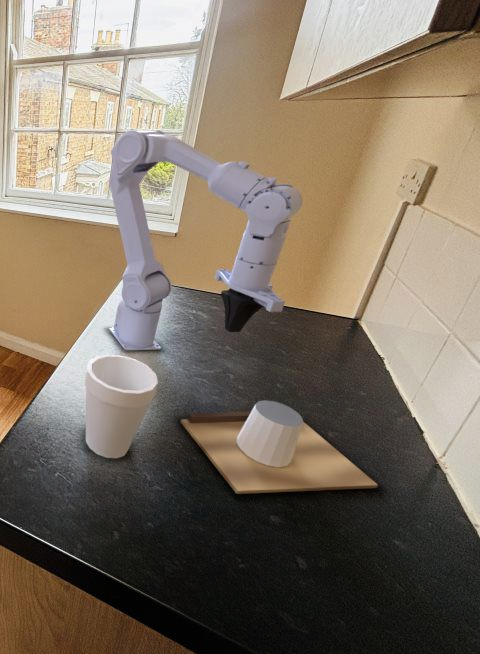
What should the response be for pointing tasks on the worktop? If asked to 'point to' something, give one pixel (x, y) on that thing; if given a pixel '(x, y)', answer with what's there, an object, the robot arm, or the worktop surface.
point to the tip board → (254, 477)
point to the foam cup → (116, 402)
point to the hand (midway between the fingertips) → (232, 330)
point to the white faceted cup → (270, 433)
